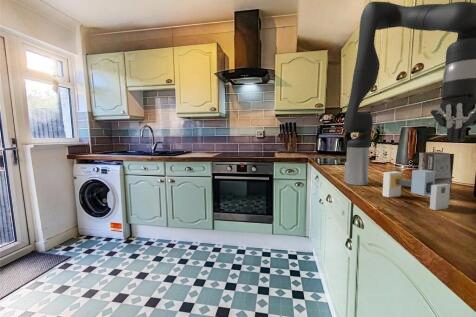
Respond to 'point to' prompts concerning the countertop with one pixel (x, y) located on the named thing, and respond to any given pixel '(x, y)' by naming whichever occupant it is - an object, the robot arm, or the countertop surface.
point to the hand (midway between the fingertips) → (455, 141)
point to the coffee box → (438, 166)
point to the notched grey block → (422, 181)
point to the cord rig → (395, 181)
